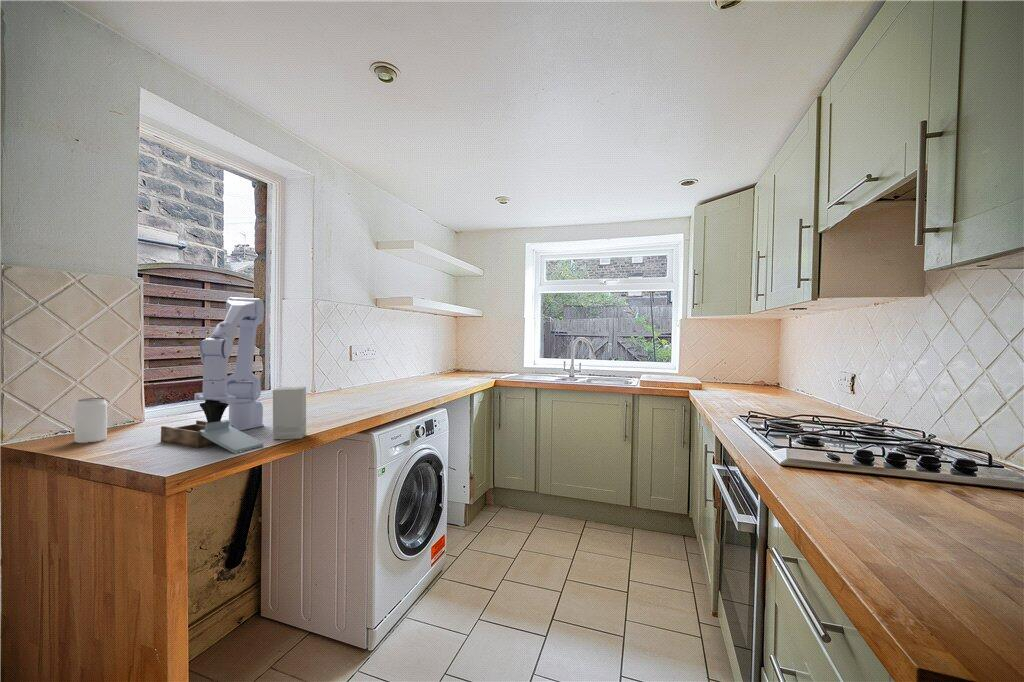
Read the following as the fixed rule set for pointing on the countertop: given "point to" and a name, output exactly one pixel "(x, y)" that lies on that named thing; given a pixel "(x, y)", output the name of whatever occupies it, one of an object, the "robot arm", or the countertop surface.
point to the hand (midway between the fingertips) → (213, 426)
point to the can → (90, 420)
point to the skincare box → (289, 412)
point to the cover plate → (229, 436)
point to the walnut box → (186, 435)
